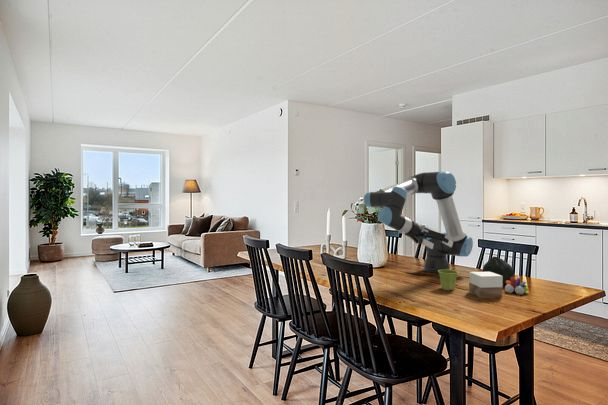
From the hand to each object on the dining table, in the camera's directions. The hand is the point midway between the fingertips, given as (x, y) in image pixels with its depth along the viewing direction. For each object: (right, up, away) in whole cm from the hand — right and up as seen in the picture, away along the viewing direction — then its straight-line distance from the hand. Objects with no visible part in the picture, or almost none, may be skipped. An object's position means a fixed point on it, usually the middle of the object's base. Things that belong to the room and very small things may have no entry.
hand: (442, 245), depth 186 cm
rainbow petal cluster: (+32, -22, -7) cm, 40 cm away
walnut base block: (+16, -22, -11) cm, 29 cm away
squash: (+33, -21, +11) cm, 41 cm away
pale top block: (+16, -17, -11) cm, 26 cm away
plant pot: (+3, -21, 0) cm, 22 cm away
